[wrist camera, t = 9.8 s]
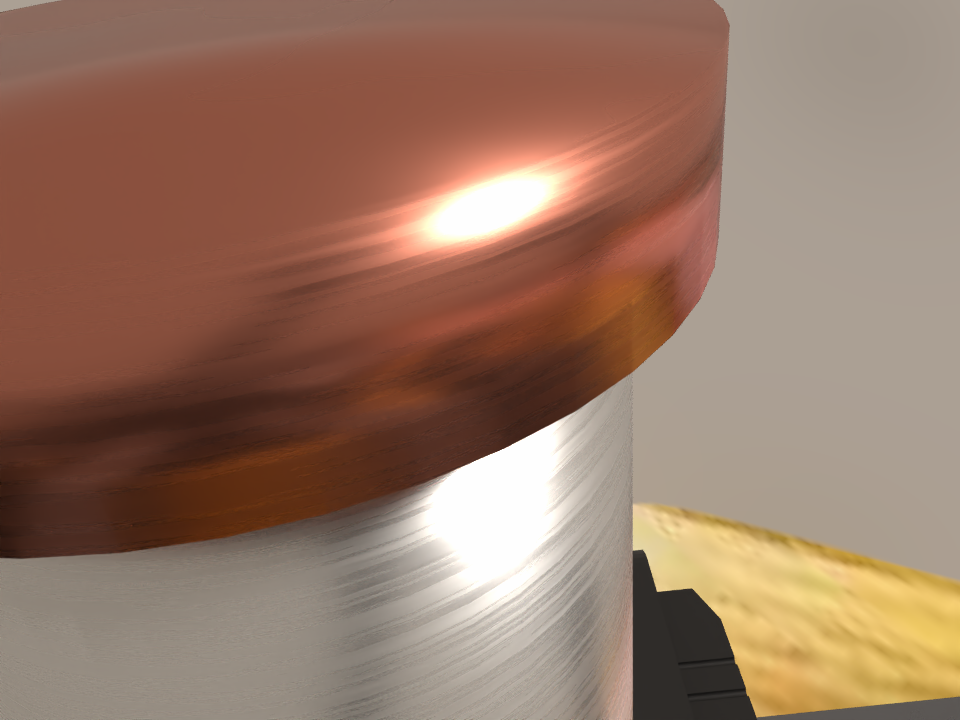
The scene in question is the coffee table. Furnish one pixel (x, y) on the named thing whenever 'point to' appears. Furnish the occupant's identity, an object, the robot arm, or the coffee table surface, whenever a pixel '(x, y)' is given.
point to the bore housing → (885, 712)
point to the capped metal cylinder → (338, 348)
